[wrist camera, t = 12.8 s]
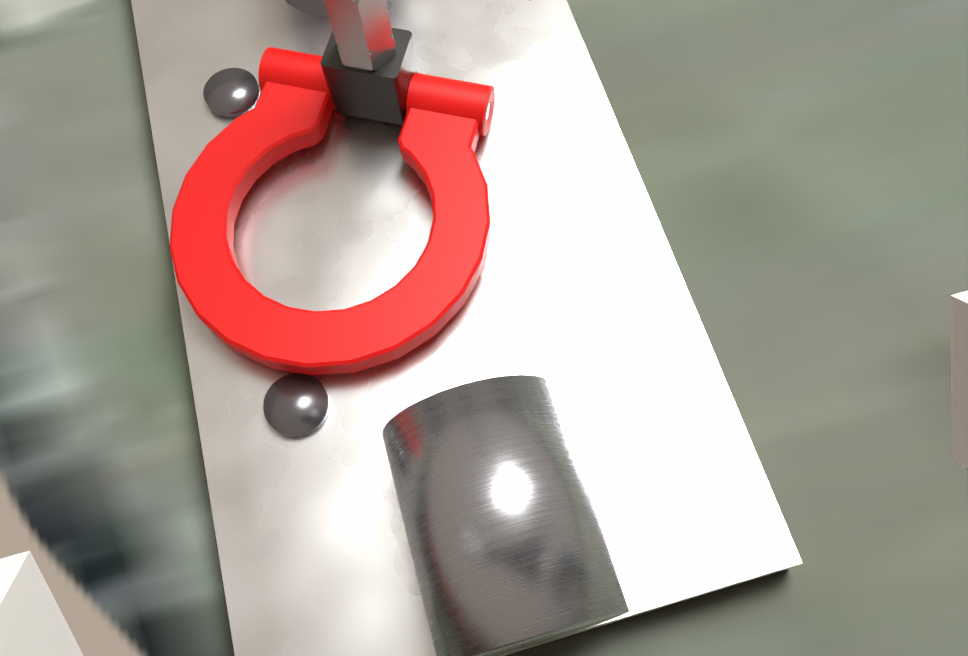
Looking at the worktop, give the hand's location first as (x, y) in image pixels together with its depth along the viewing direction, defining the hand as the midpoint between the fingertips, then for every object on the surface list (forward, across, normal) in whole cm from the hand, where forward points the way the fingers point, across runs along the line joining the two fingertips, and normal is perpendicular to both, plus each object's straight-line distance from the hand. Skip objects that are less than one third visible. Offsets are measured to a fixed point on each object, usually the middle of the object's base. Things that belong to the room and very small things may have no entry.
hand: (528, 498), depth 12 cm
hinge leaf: (+14, 0, -1) cm, 14 cm away
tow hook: (+13, +2, -1) cm, 14 cm away
